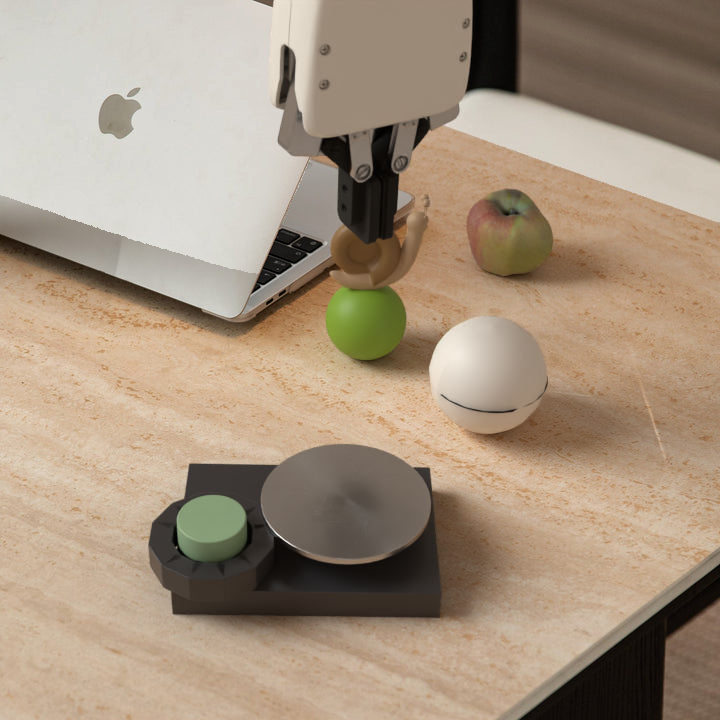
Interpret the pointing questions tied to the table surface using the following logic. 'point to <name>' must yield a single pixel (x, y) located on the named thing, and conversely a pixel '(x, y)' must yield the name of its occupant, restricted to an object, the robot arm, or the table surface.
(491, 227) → the apple
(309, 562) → the scale
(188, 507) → the tare button
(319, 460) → the weighing pan
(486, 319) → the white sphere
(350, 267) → the snail figurine
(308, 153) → the robot arm
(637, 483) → the table surface
